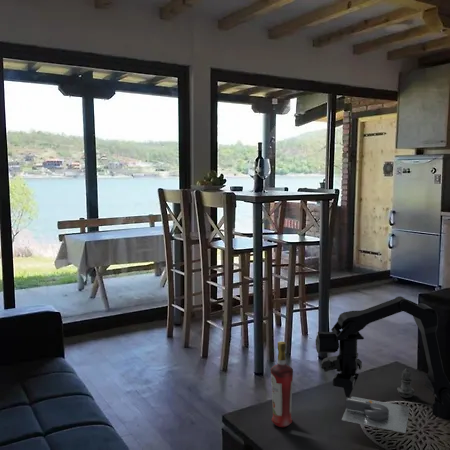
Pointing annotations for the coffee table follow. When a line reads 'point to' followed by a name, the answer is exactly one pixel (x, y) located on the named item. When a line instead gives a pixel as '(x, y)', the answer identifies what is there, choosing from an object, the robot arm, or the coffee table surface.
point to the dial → (368, 409)
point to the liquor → (281, 389)
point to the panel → (394, 421)
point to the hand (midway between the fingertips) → (347, 396)
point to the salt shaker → (405, 385)
